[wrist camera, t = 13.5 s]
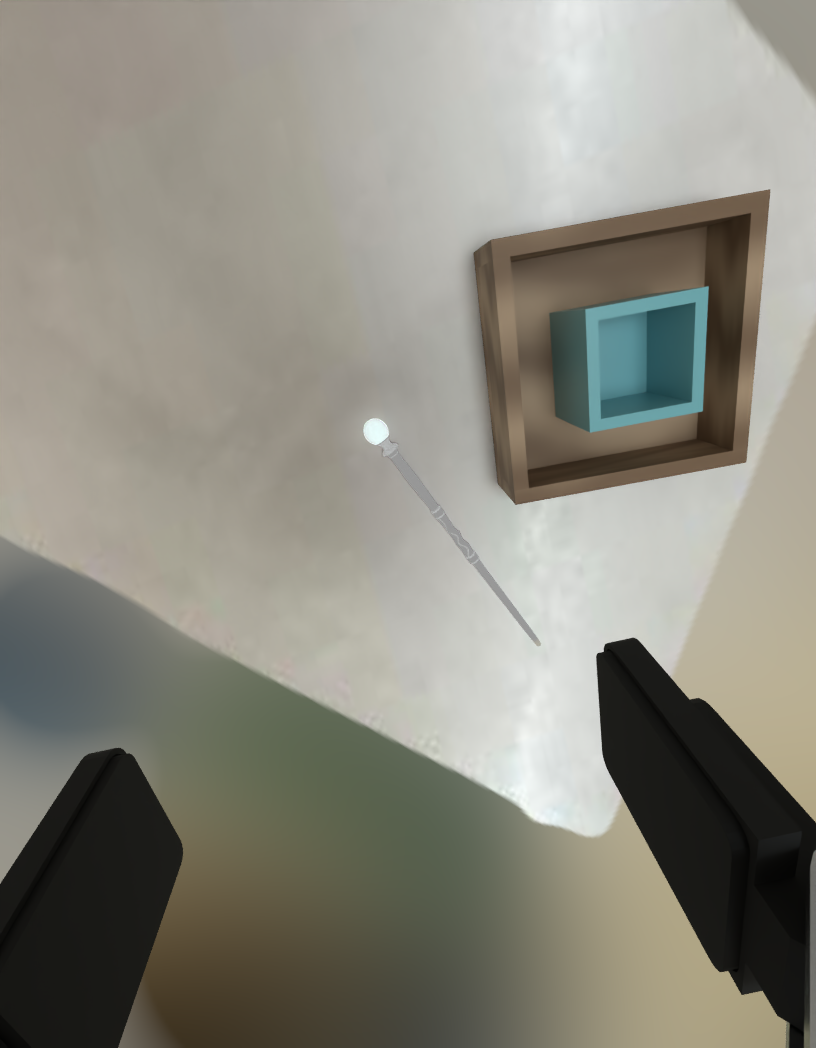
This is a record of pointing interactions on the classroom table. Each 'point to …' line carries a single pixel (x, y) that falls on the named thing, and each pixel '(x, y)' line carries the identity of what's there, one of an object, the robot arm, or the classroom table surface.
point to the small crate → (630, 359)
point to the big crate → (607, 275)
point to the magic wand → (437, 512)
